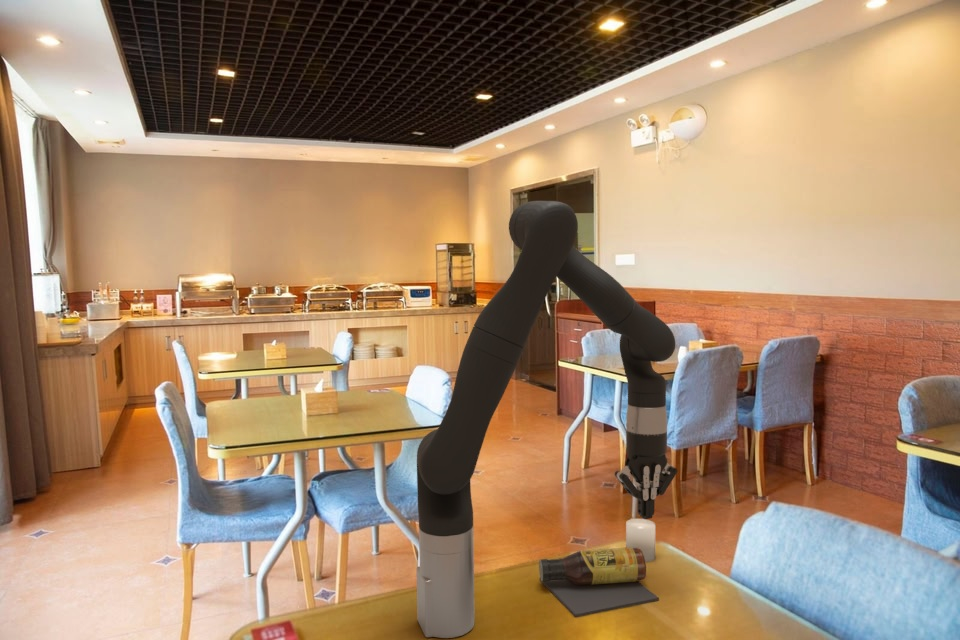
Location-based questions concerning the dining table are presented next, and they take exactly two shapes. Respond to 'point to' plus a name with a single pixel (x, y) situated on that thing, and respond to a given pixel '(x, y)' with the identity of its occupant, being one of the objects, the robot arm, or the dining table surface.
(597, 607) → the bar mat
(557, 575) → the sauce bottle
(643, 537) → the white rounded cylinder
